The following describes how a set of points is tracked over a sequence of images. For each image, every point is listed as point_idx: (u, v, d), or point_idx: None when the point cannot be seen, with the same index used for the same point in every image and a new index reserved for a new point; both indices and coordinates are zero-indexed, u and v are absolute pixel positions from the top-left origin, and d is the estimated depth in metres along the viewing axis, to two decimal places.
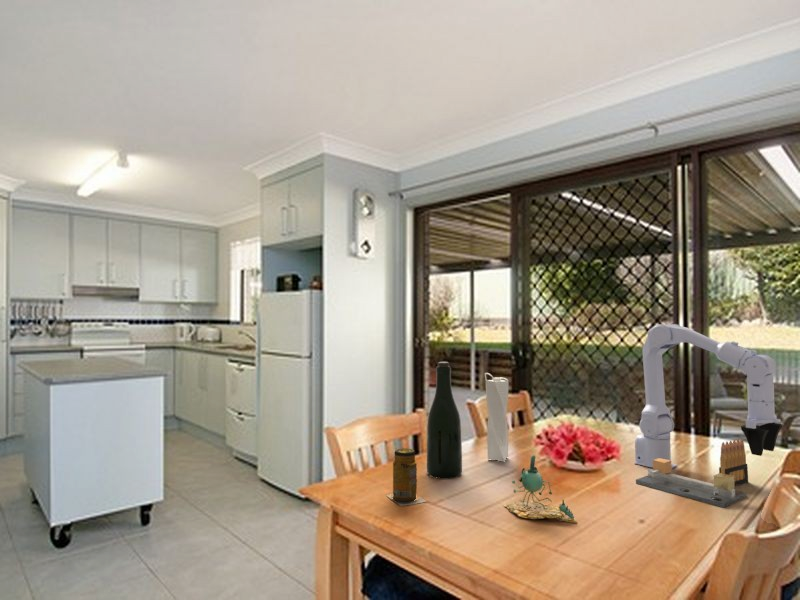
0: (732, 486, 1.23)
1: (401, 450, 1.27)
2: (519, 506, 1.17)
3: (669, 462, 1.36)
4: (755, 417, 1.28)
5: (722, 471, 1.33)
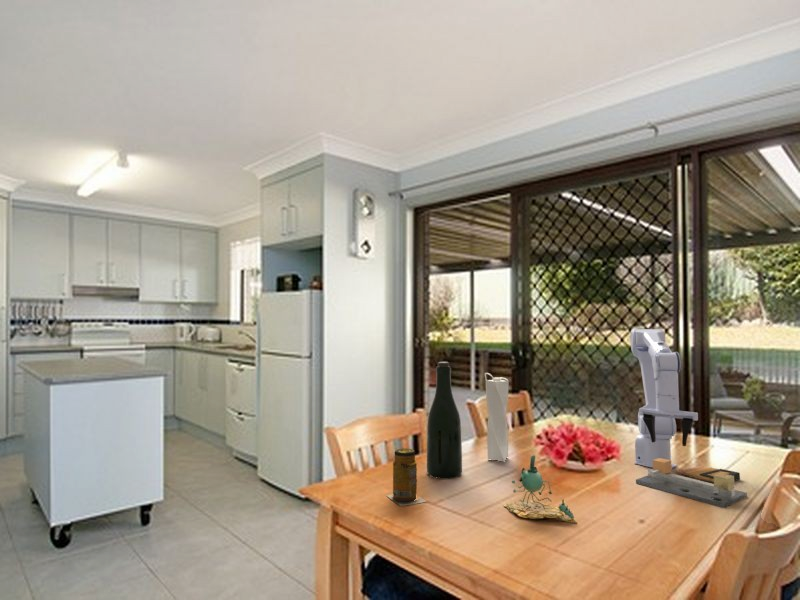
0: (732, 486, 1.23)
1: (401, 450, 1.27)
2: (519, 506, 1.17)
3: (669, 462, 1.36)
4: None
5: (702, 477, 1.37)
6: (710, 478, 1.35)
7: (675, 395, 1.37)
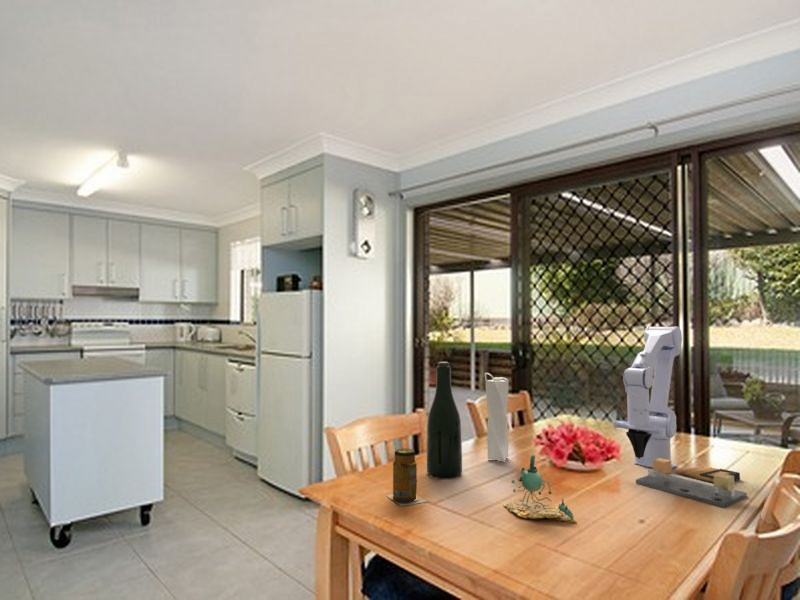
0: (732, 486, 1.23)
1: (401, 450, 1.27)
2: (519, 506, 1.17)
3: (669, 462, 1.36)
4: None
5: (702, 477, 1.37)
6: (710, 478, 1.35)
7: (642, 410, 1.40)
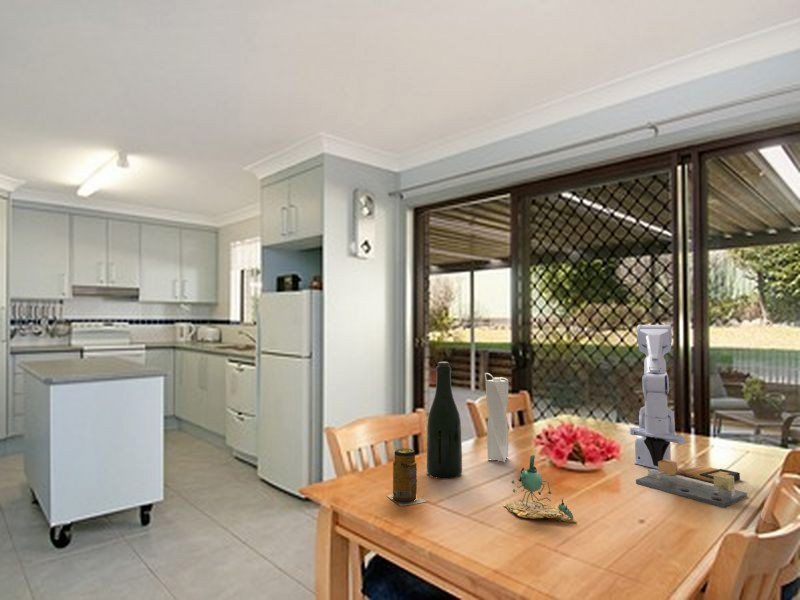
0: (732, 486, 1.23)
1: (401, 450, 1.27)
2: (518, 506, 1.17)
3: (674, 463, 1.35)
4: None
5: (702, 477, 1.37)
6: (710, 478, 1.35)
7: (661, 417, 1.35)
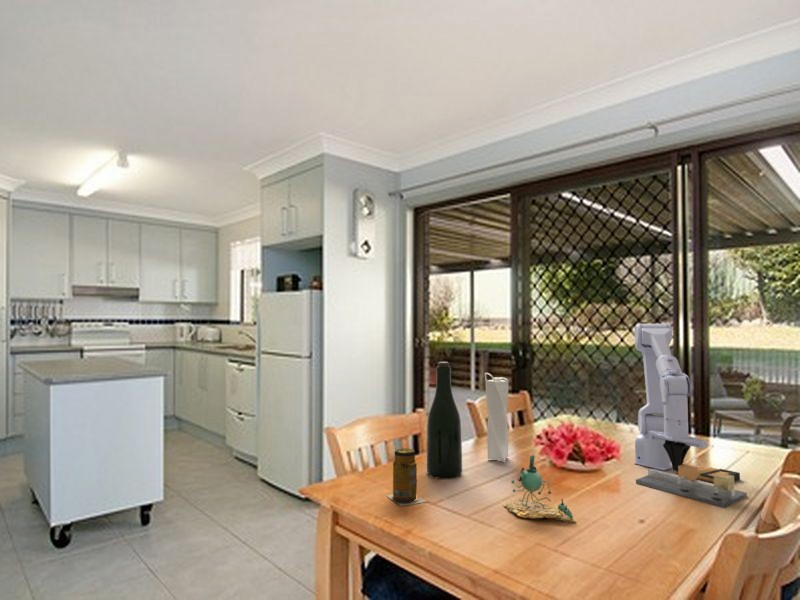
0: (732, 486, 1.23)
1: (401, 450, 1.27)
2: (518, 506, 1.17)
3: (695, 468, 1.30)
4: None
5: (702, 477, 1.37)
6: (710, 478, 1.35)
7: (681, 420, 1.31)
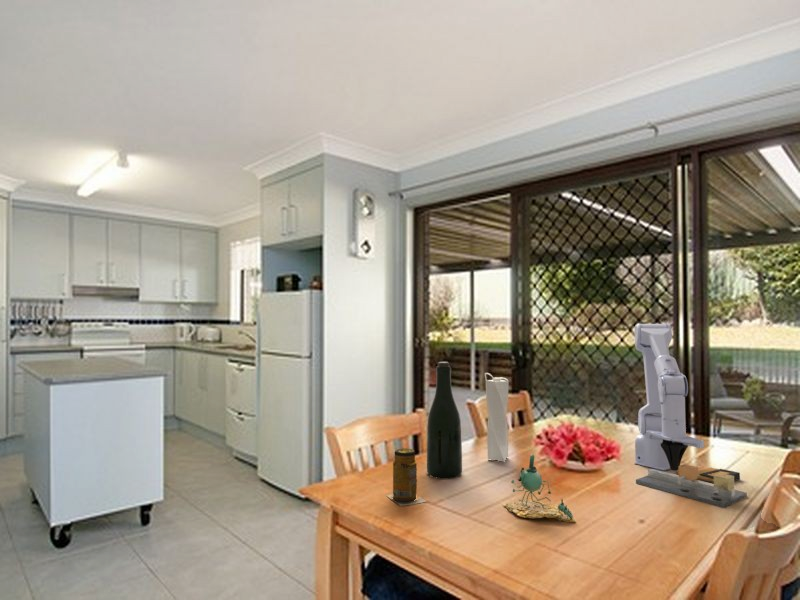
0: (732, 486, 1.23)
1: (401, 450, 1.27)
2: (518, 505, 1.17)
3: (696, 468, 1.30)
4: None
5: (702, 477, 1.37)
6: (710, 478, 1.35)
7: (679, 420, 1.32)
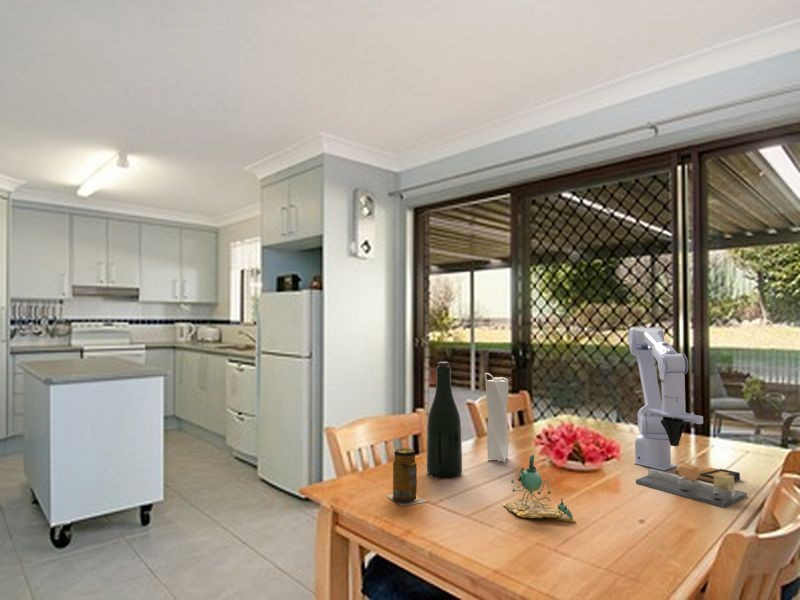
0: (732, 486, 1.23)
1: (401, 450, 1.27)
2: (518, 505, 1.17)
3: (696, 468, 1.30)
4: None
5: (702, 477, 1.37)
6: (710, 478, 1.35)
7: (678, 397, 1.35)
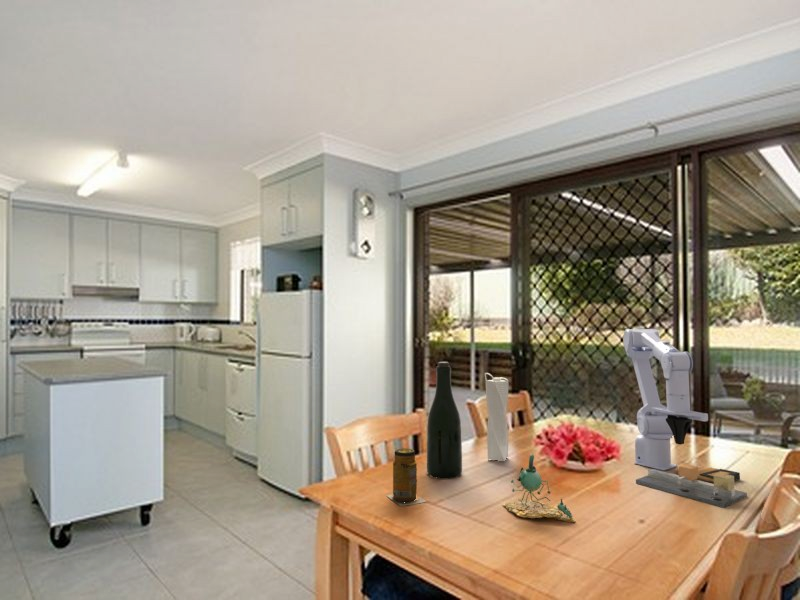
0: (732, 486, 1.23)
1: (401, 450, 1.27)
2: (518, 505, 1.17)
3: (696, 468, 1.30)
4: None
5: (702, 477, 1.37)
6: (710, 478, 1.35)
7: (683, 395, 1.36)
